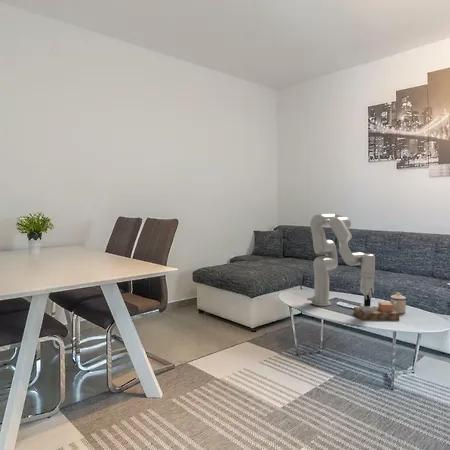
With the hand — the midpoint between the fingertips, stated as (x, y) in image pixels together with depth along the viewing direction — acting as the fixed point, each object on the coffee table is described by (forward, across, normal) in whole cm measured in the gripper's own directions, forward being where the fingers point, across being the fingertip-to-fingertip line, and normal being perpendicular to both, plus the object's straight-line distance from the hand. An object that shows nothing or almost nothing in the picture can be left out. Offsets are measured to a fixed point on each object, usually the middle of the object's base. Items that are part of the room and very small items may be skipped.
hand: (367, 305), depth 228 cm
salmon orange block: (+4, 0, +11) cm, 11 cm away
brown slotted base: (+7, 0, +5) cm, 9 cm away
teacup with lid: (+7, -10, +22) cm, 25 cm away
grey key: (+5, 0, 0) cm, 5 cm away
